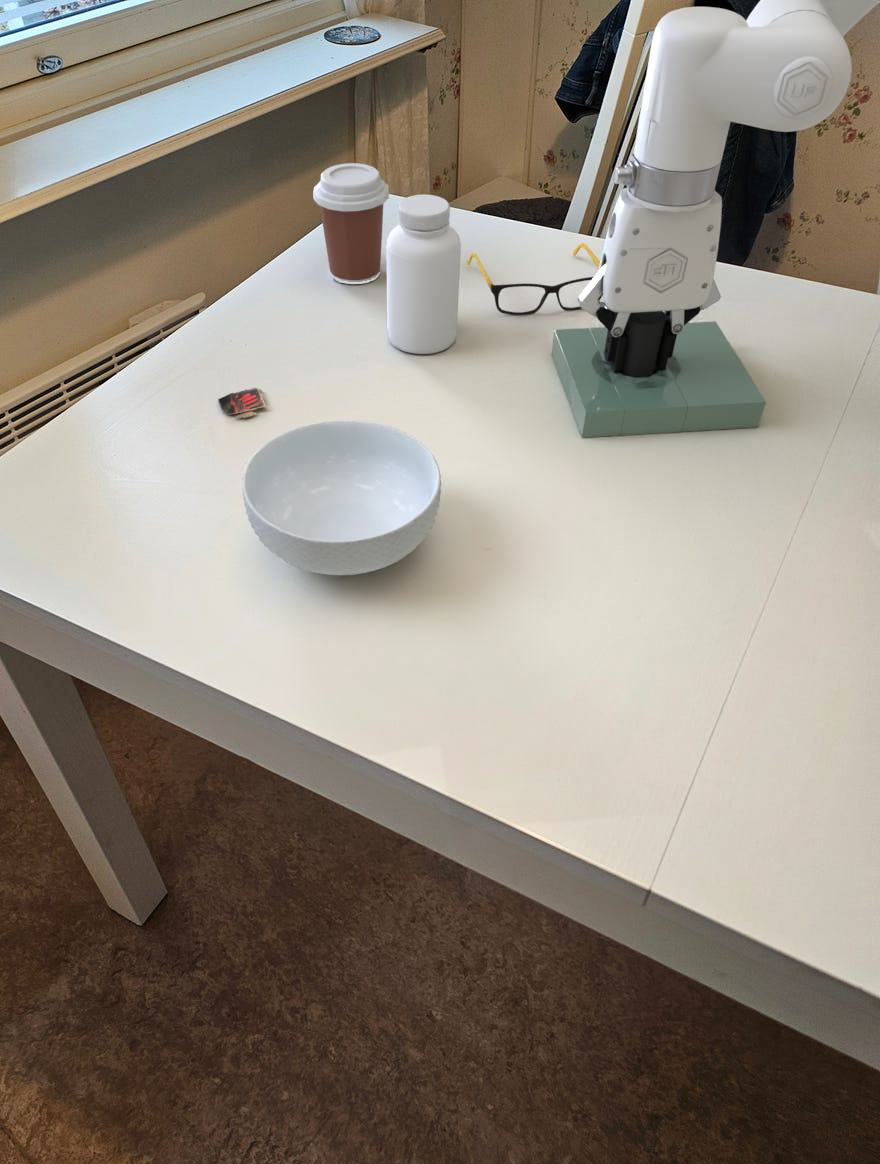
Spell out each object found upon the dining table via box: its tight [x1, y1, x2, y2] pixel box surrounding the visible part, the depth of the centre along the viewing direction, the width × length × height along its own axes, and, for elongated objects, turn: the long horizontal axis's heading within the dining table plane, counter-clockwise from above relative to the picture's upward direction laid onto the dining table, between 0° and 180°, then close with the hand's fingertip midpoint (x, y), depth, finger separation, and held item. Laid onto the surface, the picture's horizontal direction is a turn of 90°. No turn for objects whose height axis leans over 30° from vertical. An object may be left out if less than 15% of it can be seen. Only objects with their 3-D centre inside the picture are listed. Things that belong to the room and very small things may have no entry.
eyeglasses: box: [466, 243, 603, 316], centre depth 110 cm, size 14×14×4 cm
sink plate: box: [551, 321, 767, 439], centre depth 94 cm, size 18×16×3 cm
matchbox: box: [217, 387, 266, 420], centre depth 94 cm, size 5×5×1 cm
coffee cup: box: [312, 162, 390, 282], centre depth 110 cm, size 9×9×12 cm
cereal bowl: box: [241, 419, 442, 576], centre depth 77 cm, size 17×17×7 cm
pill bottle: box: [385, 194, 462, 355], centre depth 98 cm, size 8×8×15 cm
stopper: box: [619, 311, 666, 378], centre depth 91 cm, size 4×4×6 cm
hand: (636, 362), depth 93 cm, fingers closed on stopper, 4 cm apart
